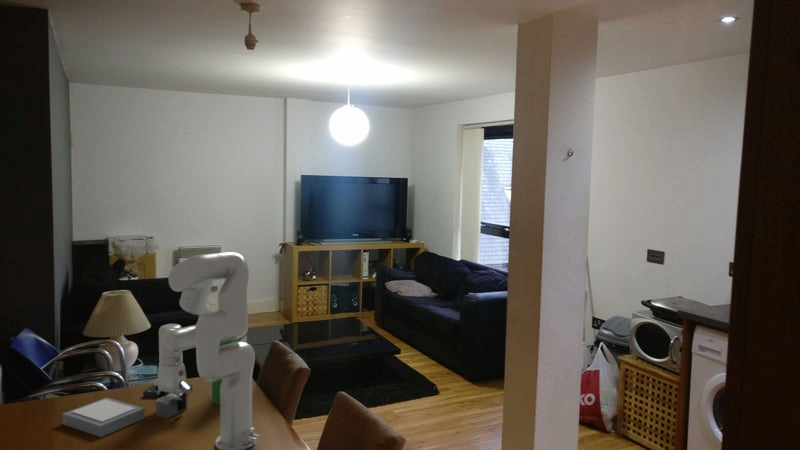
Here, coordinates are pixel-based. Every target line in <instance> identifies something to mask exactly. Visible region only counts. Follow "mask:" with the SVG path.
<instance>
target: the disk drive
mask: <svg viewBox="0 0 800 450" xmlns="http://www.w3.org/2000/svg"><path fill="white" fill-rule="evenodd" d="M187 385H188V386H189V387H190V390H191V391H192V390H193V384H192V383H187ZM178 391H180V390H178ZM142 393H143V394H142V395H143V397H142V398H146V399H147V398H149V399H152V398H153V399H158V395H157V391H156V389H155V385H154V384H152V385H151V386H149V387H148V389H145V390H144V391H143V392H142ZM166 393H167V395H168V394H170V393H168V392H166Z"/></svg>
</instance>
